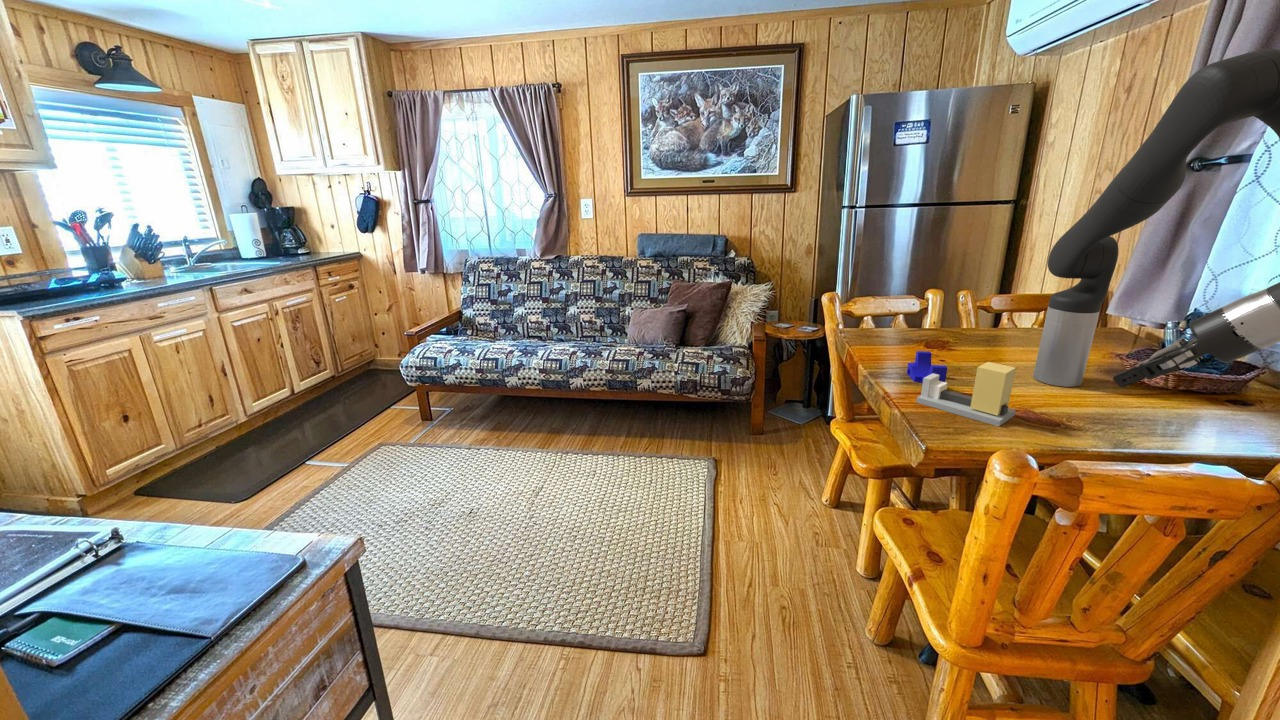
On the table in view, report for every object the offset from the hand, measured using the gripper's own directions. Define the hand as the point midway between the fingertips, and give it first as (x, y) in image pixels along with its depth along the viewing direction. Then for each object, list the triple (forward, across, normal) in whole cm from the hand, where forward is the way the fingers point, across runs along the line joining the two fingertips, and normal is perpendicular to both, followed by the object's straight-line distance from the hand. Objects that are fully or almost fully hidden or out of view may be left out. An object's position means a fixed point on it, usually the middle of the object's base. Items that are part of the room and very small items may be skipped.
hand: (1117, 382), depth 93 cm
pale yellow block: (+20, 0, -5) cm, 21 cm away
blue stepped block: (+34, -10, -16) cm, 39 cm away
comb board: (+25, 0, -7) cm, 26 cm away
